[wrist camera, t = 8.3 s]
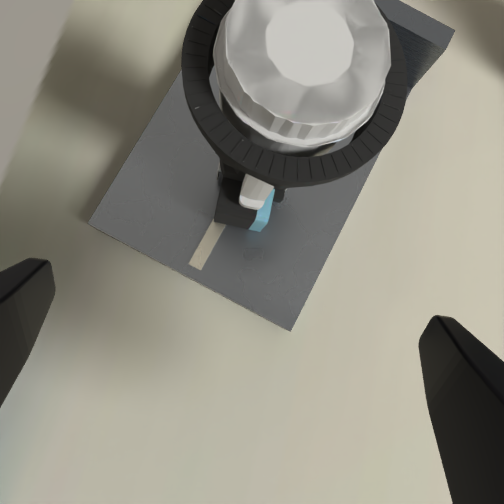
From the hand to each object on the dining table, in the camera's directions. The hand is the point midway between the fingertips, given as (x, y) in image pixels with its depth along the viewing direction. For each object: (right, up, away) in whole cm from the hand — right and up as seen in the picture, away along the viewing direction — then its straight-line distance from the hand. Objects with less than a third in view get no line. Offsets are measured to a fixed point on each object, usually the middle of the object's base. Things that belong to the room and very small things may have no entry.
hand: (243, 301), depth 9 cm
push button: (0, +5, +9) cm, 10 cm away
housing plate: (+1, +6, +10) cm, 12 cm away
